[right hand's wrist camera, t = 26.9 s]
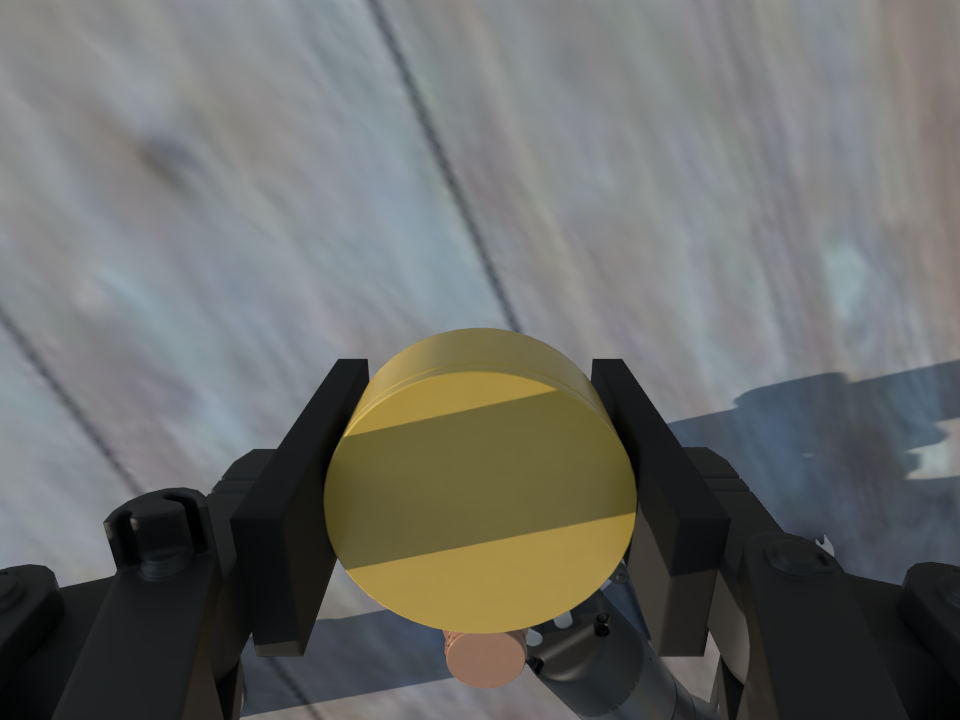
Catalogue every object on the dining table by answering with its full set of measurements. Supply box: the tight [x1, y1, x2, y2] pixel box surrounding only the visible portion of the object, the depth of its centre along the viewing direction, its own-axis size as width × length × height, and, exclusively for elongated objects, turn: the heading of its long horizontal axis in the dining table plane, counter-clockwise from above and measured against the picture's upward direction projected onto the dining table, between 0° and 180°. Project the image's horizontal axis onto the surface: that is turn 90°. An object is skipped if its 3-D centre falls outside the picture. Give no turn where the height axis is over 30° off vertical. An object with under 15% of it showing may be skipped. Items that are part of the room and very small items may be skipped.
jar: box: [443, 627, 529, 688], centre depth 36 cm, size 5×5×16 cm
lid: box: [323, 328, 638, 634], centre depth 11 cm, size 6×6×2 cm
